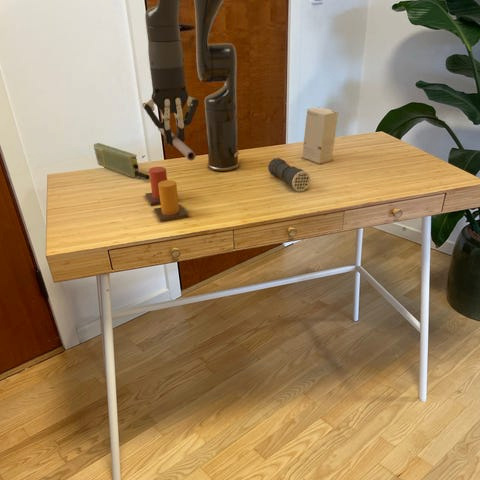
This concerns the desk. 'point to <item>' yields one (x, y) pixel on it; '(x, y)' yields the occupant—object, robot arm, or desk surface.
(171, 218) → the ochre post
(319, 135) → the pale wooden block
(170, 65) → the robot arm
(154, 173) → the red peg stand
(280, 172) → the flashlight
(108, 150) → the handheld radio
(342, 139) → the desk surface
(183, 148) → the metal rod
